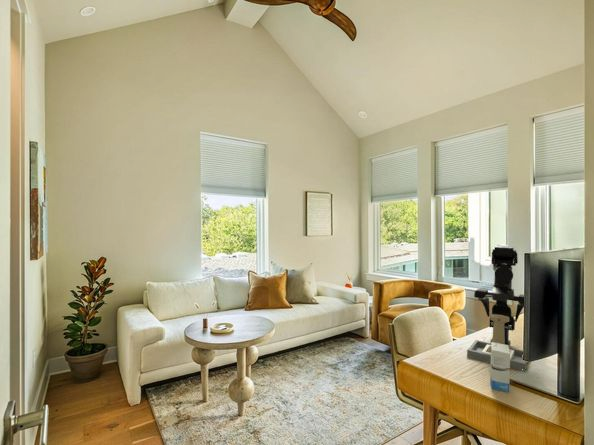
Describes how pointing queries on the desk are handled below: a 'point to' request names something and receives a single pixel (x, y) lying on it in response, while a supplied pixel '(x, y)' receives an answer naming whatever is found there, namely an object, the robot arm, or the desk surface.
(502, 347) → the ink box
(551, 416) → the desk surface
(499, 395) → the desk surface
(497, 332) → the handle
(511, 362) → the walled box
